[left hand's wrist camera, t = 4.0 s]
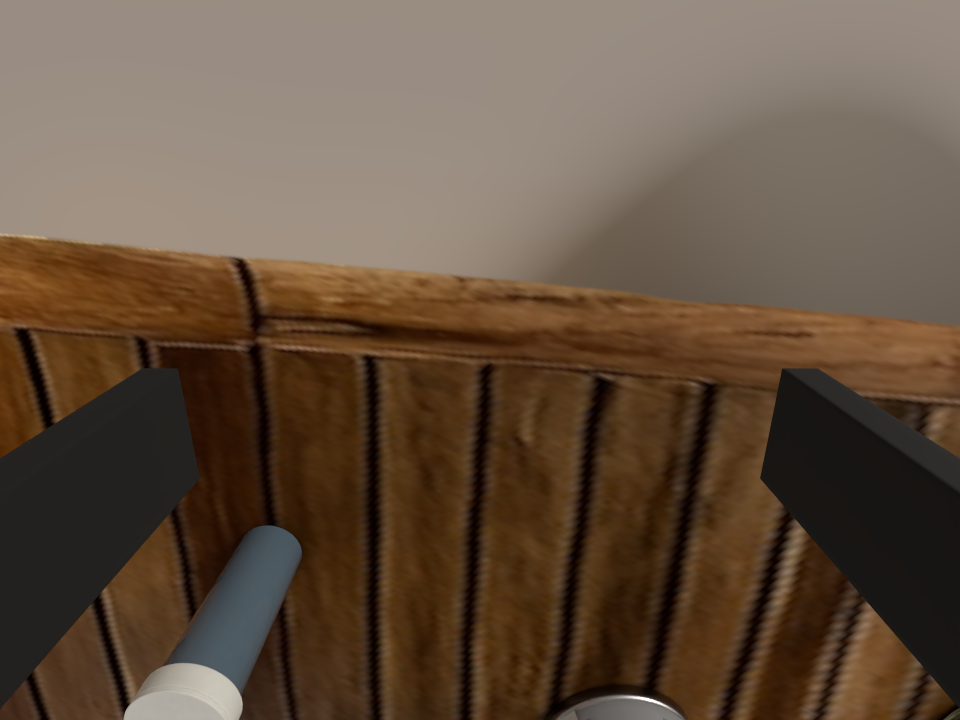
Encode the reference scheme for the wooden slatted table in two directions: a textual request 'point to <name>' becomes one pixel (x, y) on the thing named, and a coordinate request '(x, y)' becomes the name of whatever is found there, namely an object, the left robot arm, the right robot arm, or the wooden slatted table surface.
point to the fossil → (954, 715)
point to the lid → (185, 695)
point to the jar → (241, 605)
